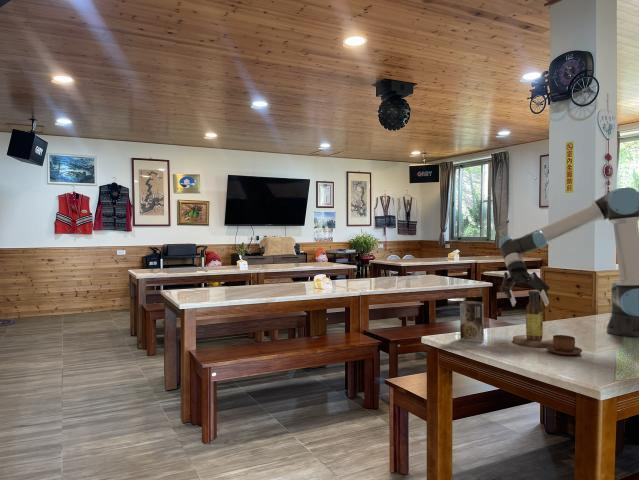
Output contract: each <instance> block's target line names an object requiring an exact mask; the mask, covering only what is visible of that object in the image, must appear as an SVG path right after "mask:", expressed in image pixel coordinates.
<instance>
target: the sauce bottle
mask: <svg viewBox="0 0 639 480" xmlns="http://www.w3.org/2000/svg"><path fill="white" fill-rule="evenodd" d="M539 295H540V291H538V290H528V303H527V305H526V308H525V311H526V312H525V335H527V339H530V340H542V336H543V337H544V335H543V334H544V329H543V328H544V327H543V325H544V323H543V319H544V318H543V315H544V314H543V313H544V312H543V308H542V306H541V303H540V296H539Z"/></svg>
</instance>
